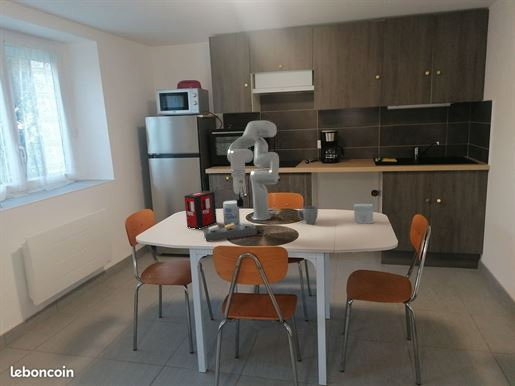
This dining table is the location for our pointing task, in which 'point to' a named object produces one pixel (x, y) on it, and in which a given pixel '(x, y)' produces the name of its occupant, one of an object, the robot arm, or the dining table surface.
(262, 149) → the robot arm
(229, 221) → the supplement tub
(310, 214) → the mug
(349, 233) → the dining table surface
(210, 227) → the rocker
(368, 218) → the skincare box
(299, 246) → the dining table surface
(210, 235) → the power strip
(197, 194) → the cleaning product box
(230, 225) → the rocker middle
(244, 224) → the rocker
